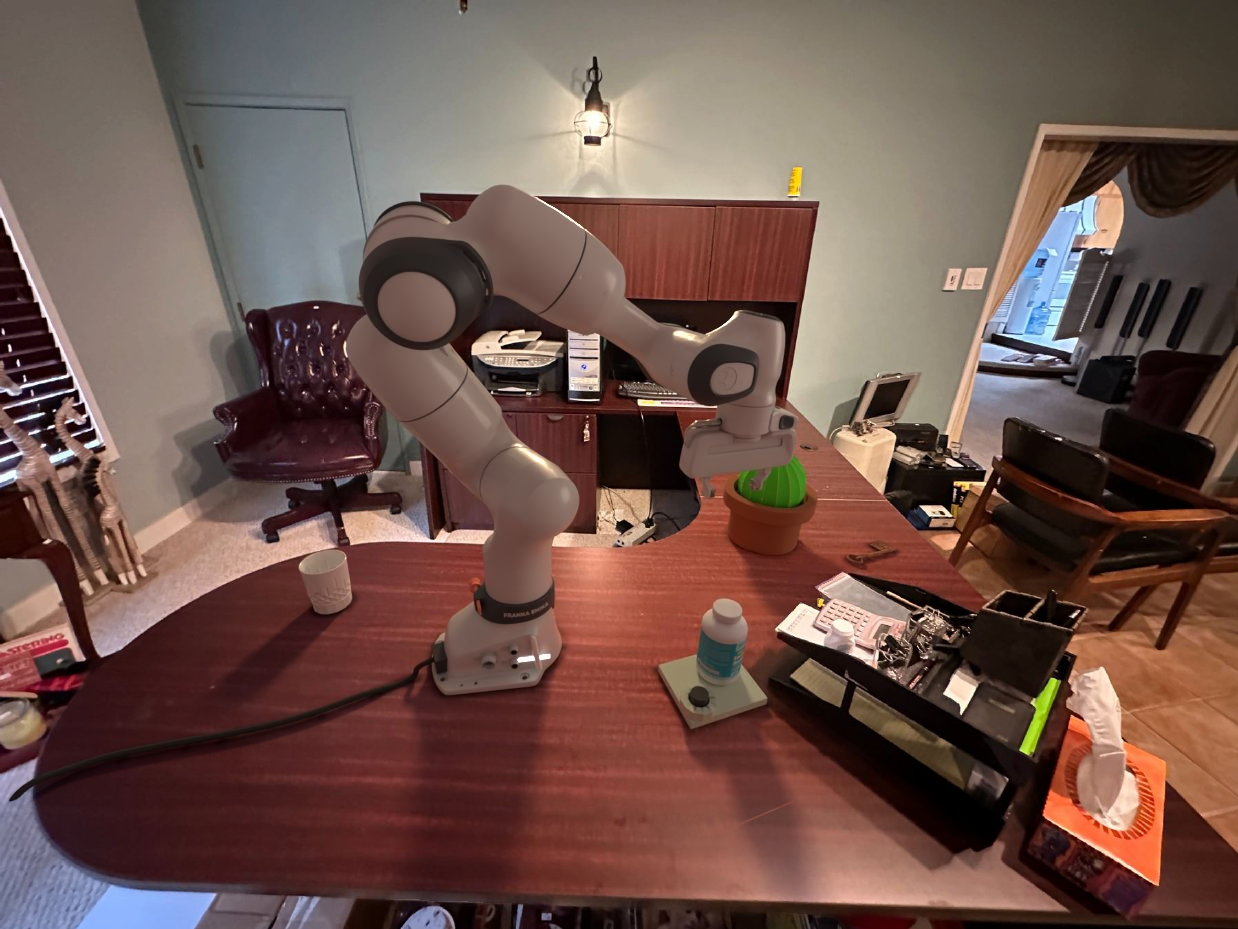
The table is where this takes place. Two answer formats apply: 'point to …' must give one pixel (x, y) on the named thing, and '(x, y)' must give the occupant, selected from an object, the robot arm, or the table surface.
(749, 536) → the potted cactus
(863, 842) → the table surface
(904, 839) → the table surface
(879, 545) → the key
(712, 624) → the pill bottle
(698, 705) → the tare button
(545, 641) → the robot arm
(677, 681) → the scale
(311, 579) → the white cup
